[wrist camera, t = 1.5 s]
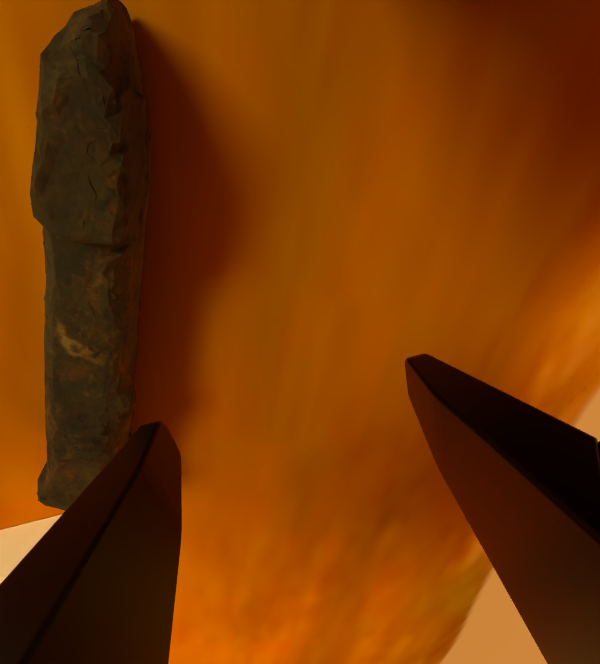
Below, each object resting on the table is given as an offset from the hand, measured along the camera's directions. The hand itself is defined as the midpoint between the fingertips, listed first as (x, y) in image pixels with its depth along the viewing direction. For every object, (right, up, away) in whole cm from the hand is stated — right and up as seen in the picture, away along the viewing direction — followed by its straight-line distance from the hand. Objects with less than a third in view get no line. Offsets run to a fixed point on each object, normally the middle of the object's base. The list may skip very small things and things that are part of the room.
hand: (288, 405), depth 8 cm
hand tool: (-8, +3, +9) cm, 13 cm away
